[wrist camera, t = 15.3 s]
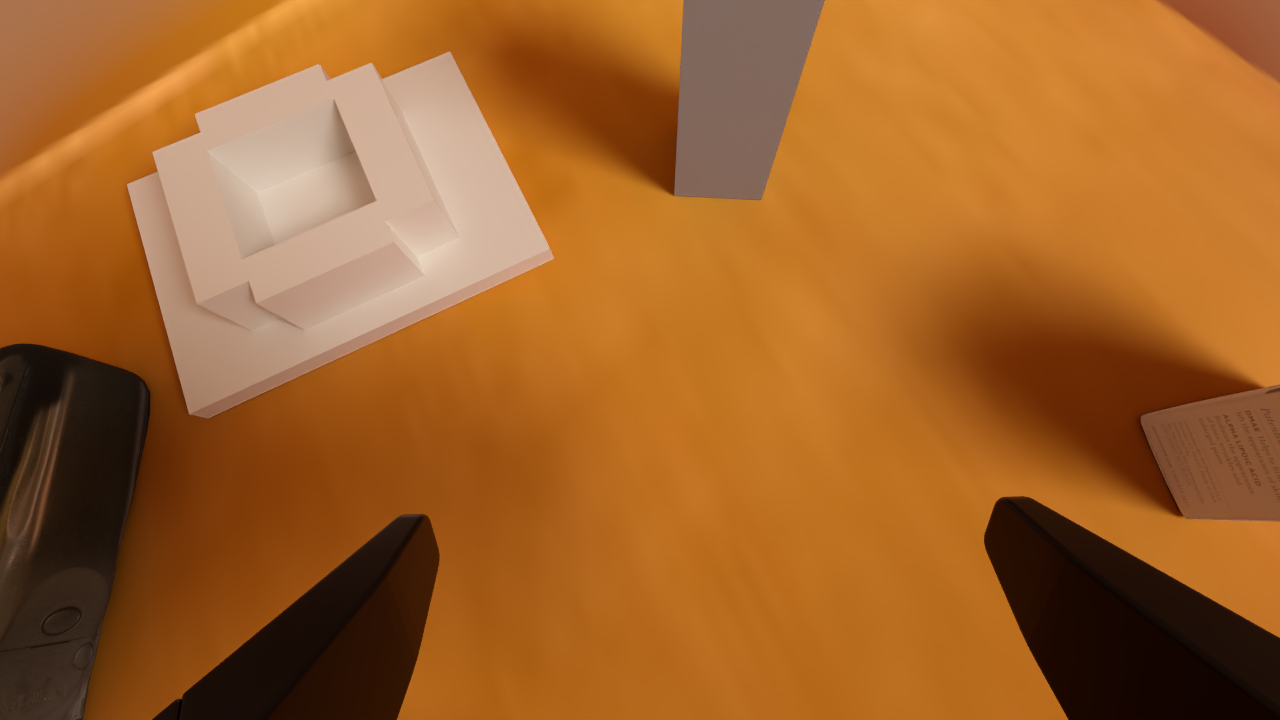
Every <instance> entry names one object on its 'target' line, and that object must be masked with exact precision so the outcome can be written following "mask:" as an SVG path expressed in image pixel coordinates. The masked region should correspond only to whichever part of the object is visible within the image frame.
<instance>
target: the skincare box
mask: <svg viewBox="0 0 1280 720" xmlns="http://www.w3.org/2000/svg"><path fill="white" fill-rule="evenodd" d="M1140 421H1141V425H1142V428H1143V430H1144V432H1145V434H1146V437H1147V440H1148V443H1149V445H1150V447H1151V450H1152V452H1153V454H1154V457H1155V459H1156V461H1157V463H1158V466H1159V468H1160V470H1161V472H1162V475H1163V477H1164V479H1165V481H1166V483H1167V485H1168V487H1169V489H1170V491H1171V494H1172V496H1173V498H1174V500H1175V502H1176V504H1177V505H1178V507H1179V509H1180V511H1181V513H1182V514H1183V516H1184V517H1185V518H1187V519H1196V520H1230V521H1271V522H1280V385H1275V386H1270V387H1265V388H1260V389H1255V390H1251V391H1246V392H1241V393H1236V394H1231V395H1226V396H1221V397H1217V398H1212V399H1207V400H1202V401H1198V402H1193V403H1189V404H1184V405H1180V406H1176V407H1172V408H1168V409H1163V410H1159V411H1155V412H1152V413H1148V414H1145V415H1142V416H1141V420H1140Z"/></svg>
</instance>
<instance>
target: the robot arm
mask: <svg viewBox="0 0 1280 720" xmlns="http://www.w3.org/2000/svg"><path fill="white" fill-rule="evenodd" d="M984 544H985V548H986V551H987V554H988V556H989V559H990V561H991V563H992V565H993V568H994V570H995V572H996V575H997V577H998V579H999V582H1000V584H1001V586H1002V589H1003V591H1004V593H1005V596H1006V598H1007V600H1008V602H1009V605H1010V607H1011V609H1012V612H1013V614H1014V616H1015V619H1016V621H1017V623H1018V626H1019V628H1020V630H1021V632H1022V634H1023V637H1024V639H1025V641H1026V643H1027V645H1028V647H1029V649H1030V651H1031V653H1032V654H1033V656H1034V658H1035V660H1036V662H1037V664H1038V666H1039V667H1040V669H1041V671H1042V673H1043V675H1044V676H1045V678H1046V680H1047V682H1048V684H1049V685H1050V687H1051V689H1052V691H1053V693H1054V694H1055V696H1056V698H1057V700H1058V702H1059V704H1060V705H1061V707H1062V709H1063V711H1064V713H1065V714H1066V716H1067V718H1068V720H1280V638H1279V637H1277V636H1275V635H1274V634H1272V633H1270V632H1268V631H1266V630H1265V629H1263V628H1261V627H1259V626H1258V625H1256V624H1254V623H1252V622H1250V621H1249V620H1247V619H1245V618H1243V617H1242V616H1240V615H1238V614H1236V613H1234V612H1233V611H1231V610H1229V609H1227V608H1226V607H1224V606H1222V605H1220V604H1218V603H1217V602H1215V601H1213V600H1211V599H1210V598H1208V597H1206V596H1204V595H1202V594H1201V593H1199V592H1197V591H1195V590H1194V589H1192V588H1190V587H1188V586H1186V585H1185V584H1183V583H1181V582H1179V581H1178V580H1176V579H1174V578H1172V577H1170V576H1169V575H1167V574H1165V573H1163V572H1162V571H1160V570H1158V569H1156V568H1154V567H1153V566H1151V565H1149V564H1147V563H1146V562H1144V561H1142V560H1140V559H1138V558H1137V557H1135V556H1133V555H1131V554H1130V553H1128V552H1126V551H1124V550H1122V549H1121V548H1119V547H1117V546H1115V545H1114V544H1112V543H1110V542H1108V541H1106V540H1105V539H1103V538H1101V537H1099V536H1098V535H1096V534H1094V533H1092V532H1090V531H1089V530H1087V529H1085V528H1083V527H1082V526H1080V525H1078V524H1076V523H1074V522H1073V521H1071V520H1069V519H1067V518H1066V517H1064V516H1062V515H1060V514H1058V513H1057V512H1055V511H1053V510H1051V509H1050V508H1048V507H1046V506H1044V505H1042V504H1041V503H1039V502H1037V501H1035V500H1034V499H1032V498H1029V497H1024V496H1020V497H1002V498H1000V499H998V500H997V501H996V503H995V505H994V508H993V511H992V514H991V517H990V520H989V523H988V526H987V529H986V532H985V535H984ZM438 566H439V549H438V545H437V542H436V539H435V535H434V532H433V528H432V525H431V522H430V519H429V518H428V516H427V515H424V514H406V515H401V516H399V517H397V518H396V519H395V520H393V521H392V522H391V523H390V524H389V525H387V526H386V527H385V528H384V529H383V530H381V531H380V532H379V533H378V534H376V535H375V536H374V537H373V538H372V539H370V540H369V541H368V542H367V543H366V544H364V545H363V546H362V547H361V548H360V549H358V550H357V551H356V552H355V553H353V554H352V555H351V556H350V557H349V558H347V559H346V560H345V561H344V562H343V563H341V564H340V565H339V566H338V567H337V568H335V569H334V570H333V571H332V572H330V573H329V574H328V575H327V576H326V577H324V578H323V579H322V580H321V581H320V582H318V583H317V584H316V585H315V586H314V587H312V588H311V589H310V590H309V591H307V592H306V593H305V594H304V595H303V596H301V597H300V598H299V599H298V600H297V601H295V602H294V603H293V604H292V605H290V606H289V607H288V608H287V609H286V610H284V611H283V612H282V613H281V614H280V615H278V616H277V617H276V618H275V619H274V620H272V621H271V622H270V623H269V624H267V625H266V626H265V627H264V628H263V629H261V630H260V631H259V632H258V633H257V634H255V635H254V636H253V637H252V638H251V639H249V640H248V641H247V642H246V643H244V644H243V645H242V646H241V647H240V648H238V649H237V650H236V651H235V652H234V653H232V654H231V655H230V656H229V657H227V658H226V659H225V660H224V661H223V662H221V663H220V664H219V665H218V666H217V667H215V668H214V669H213V670H212V671H211V672H209V673H208V674H207V675H206V676H204V677H203V678H202V679H201V680H200V681H198V682H197V683H196V684H195V685H194V686H192V687H191V688H190V689H189V690H188V691H186V692H185V693H184V694H183V697H182V699H177V700H175V701H174V702H173V703H171V704H170V705H169V706H168V707H167V708H165V709H164V710H163V711H162V712H161V713H159V714H158V715H157V716H156V717H155V718H153V719H152V720H397V718H398V715H399V712H400V709H401V706H402V703H403V700H404V697H405V694H406V691H407V688H408V686H409V683H410V680H411V677H412V674H413V671H414V667H415V664H416V661H417V657H418V653H419V650H420V646H421V641H422V637H423V633H424V628H425V624H426V619H427V615H428V611H429V606H430V602H431V597H432V593H433V589H434V584H435V580H436V575H437V571H438Z"/></svg>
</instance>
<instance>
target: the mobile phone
mask: <svg viewBox="0 0 1280 720" xmlns="http://www.w3.org/2000/svg"><path fill="white" fill-rule="evenodd" d="M149 415H150V392H149V390H148V388H147V386H146V384H145V382H144V381H143V380H142V379H141V378H140V377H139V376H137V375H136V374H134V373H132V372H129V371H127V370H124V369H121V368H118V367H115V366H112V365H108V364H105V363H102V362H99V361H95V360H92V359H89V358H86V357H83V356H79V355H76V354H73V353H69V352H65V351H62V350H57V349H53V348H49V347H46V346H41V345H34V344H14V345H10V346H6V347H3V348H1V349H0V720H83V713H84V708H85V702H86V696H87V689H88V683H89V677H90V672H91V668H92V666H93V663H94V660H95V656H96V651H97V646H98V640H99V635H100V629H101V624H102V620H103V617H104V614H105V611H106V608H107V604H108V601H109V597H110V593H111V588H112V583H113V578H114V572H115V567H116V561H117V556H118V550H119V545H120V541H121V536H122V532H123V529H124V525H125V521H126V518H127V514H128V511H129V507H130V504H131V500H132V496H133V492H134V488H135V483H136V478H137V474H138V469H139V464H140V459H141V455H142V450H143V446H144V441H145V436H146V431H147V426H148V421H149Z"/></svg>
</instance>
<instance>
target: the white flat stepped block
mask: <svg viewBox="0 0 1280 720" xmlns="http://www.w3.org/2000/svg"><path fill="white" fill-rule="evenodd" d="M195 117H196V120H197V123H198V126H199V129H200V133H198V134H195V135H193V136H190V137H188V138H186V139H183V140H181V141H178V142H176V143H173V144H171V145H168V146H166V147H163V148H161V149H159V150H156V151H154V152H152V153H153V156H154V159H155V163H156V166H157V170H158V172H155V173H153V174H151V175H148V176H146V177H143V178H141V179H138V180H136V181H134V182H131V183H129V184H127V187H128V191H129V194H130V198H131V202H132V205H133V209H134V213H135V216H136V220H137V224H138V228H139V231H140V235H141V239H142V242H143V246H144V250H145V253H146V257H147V261H148V265H149V268H150V272H151V276H152V279H153V283H154V287H155V290H156V294H157V298H158V301H159V305H160V309H161V313H162V316H163V320H164V324H165V327H166V331H167V335H168V338H169V342H170V346H171V350H172V353H173V357H174V361H175V364H176V368H177V372H178V375H179V379H180V383H181V387H182V390H183V394H184V398H185V401H186V405H187V409H188V412H189V414H190V415H195V416H199V417H203V418H207V419H208V418H210V417H213V416H215V415H217V414H219V413H221V412H223V411H226V410H228V409H230V408H232V407H234V406H236V405H239V404H241V403H243V402H245V401H247V400H249V399H252V398H254V397H256V396H258V395H260V394H262V393H265V392H267V391H269V390H271V389H273V388H275V387H278V386H280V385H282V384H284V383H286V382H288V381H291V380H293V379H295V378H297V377H299V376H301V375H304V374H306V373H308V372H310V371H312V370H314V369H317V368H319V367H321V366H323V365H325V364H327V363H330V362H332V361H334V360H336V359H338V358H340V357H343V356H345V355H347V354H349V353H351V352H353V351H356V350H358V349H360V348H362V347H364V346H366V345H369V344H371V343H373V342H375V341H377V340H379V339H382V338H384V337H386V336H388V335H390V334H392V333H395V332H397V331H399V330H401V329H403V328H405V327H408V326H410V325H412V324H414V323H416V322H418V321H421V320H423V319H425V318H427V317H429V316H432V315H434V314H436V313H438V312H440V311H442V310H445V309H447V308H449V307H451V306H453V305H455V304H458V303H460V302H462V301H464V300H466V299H468V298H471V297H473V296H475V295H477V294H479V293H481V292H484V291H486V290H488V289H490V288H492V287H494V286H497V285H499V284H501V283H503V282H505V281H507V280H510V279H512V278H514V277H516V276H518V275H520V274H523V273H525V272H527V271H529V270H531V269H533V268H536V267H538V266H540V265H542V264H544V263H546V262H549V261H551V260H553V259H554V258H553V255H552V253H551V250H550V248H549V246H548V244H547V242H546V240H545V238H544V236H543V234H542V232H541V230H540V228H539V226H538V224H537V222H536V220H535V218H534V216H533V214H532V212H531V210H530V208H529V206H528V204H527V202H526V200H525V198H524V196H523V194H522V192H521V190H520V188H519V186H518V184H517V182H516V180H515V178H514V177H513V175H512V173H511V171H510V169H509V167H508V165H507V163H506V161H505V159H504V157H503V155H502V153H501V151H500V149H499V147H498V145H497V143H496V141H495V139H494V137H493V135H492V133H491V131H490V129H489V127H488V125H487V123H486V121H485V119H484V117H483V115H482V113H481V111H480V109H479V107H478V105H477V103H476V101H475V99H474V97H473V96H472V94H471V92H470V90H469V88H468V86H467V84H466V82H465V80H464V78H463V76H462V74H461V72H460V70H459V68H458V66H457V64H456V62H455V60H454V58H453V56H452V54H451V52H450V51H449V52H447V53H444V54H442V55H439V56H437V57H435V58H432V59H430V60H427V61H425V62H423V63H420V64H418V65H415V66H413V67H410V68H408V69H406V70H403V71H401V72H398V73H396V74H393V75H391V76H389V77H386V78H384V79H382V78H381V77H380V75H379V73H378V72H377V70H376V69H375V67H374V65H373V64H372V63H369V64H367V65H365V66H362V67H360V68H357V69H355V70H352V71H350V72H347V73H345V74H342V75H340V76H338V77H335V78H333V79H330V78H329V76H328V75H327V73H326V72H325V71H324V69H323V68H322V67H321V65H320V64H318V65H315V66H313V67H310V68H308V69H305V70H303V71H300V72H298V73H295V74H293V75H290V76H288V77H285V78H283V79H281V80H278V81H276V82H273V83H271V84H268V85H266V86H263V87H261V88H258V89H256V90H253V91H251V92H248V93H246V94H243V95H241V96H238V97H236V98H233V99H231V100H229V101H226V102H224V103H221V104H219V105H216V106H214V107H211V108H209V109H206V110H204V111H201V112H199V113H196V114H195Z"/></svg>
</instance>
